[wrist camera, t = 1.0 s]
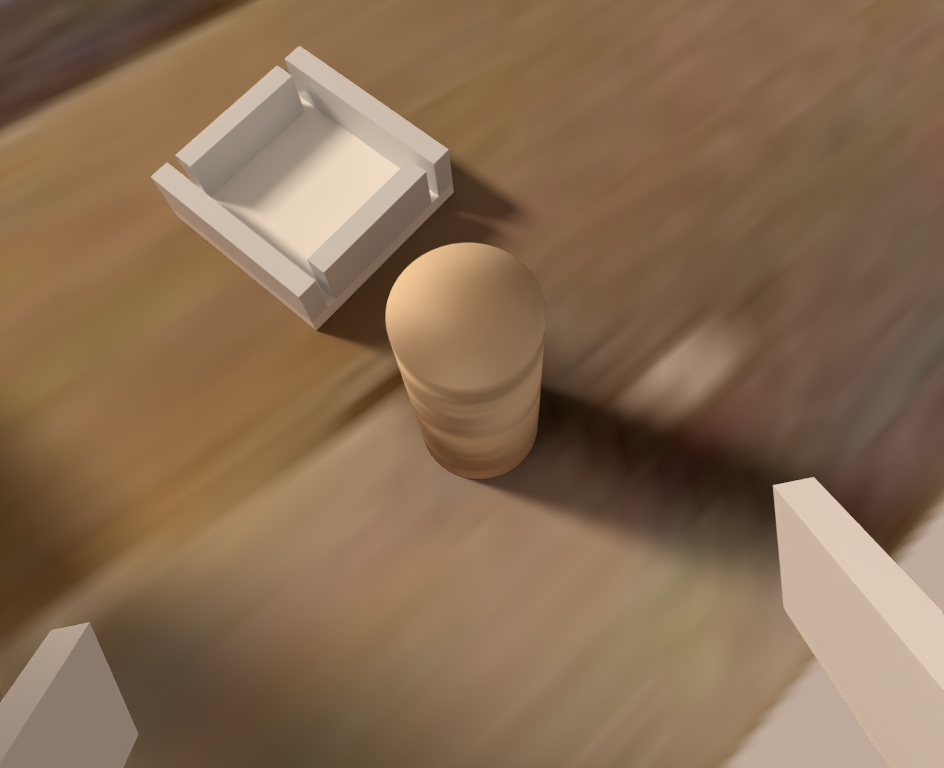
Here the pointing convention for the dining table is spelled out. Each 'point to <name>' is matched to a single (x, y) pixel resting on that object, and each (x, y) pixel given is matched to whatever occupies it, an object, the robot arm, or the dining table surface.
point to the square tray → (308, 185)
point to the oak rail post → (470, 355)
